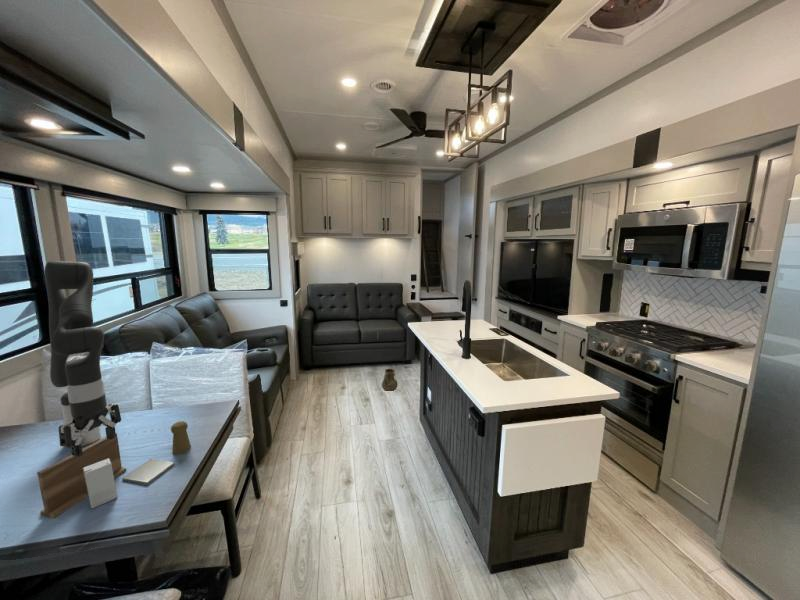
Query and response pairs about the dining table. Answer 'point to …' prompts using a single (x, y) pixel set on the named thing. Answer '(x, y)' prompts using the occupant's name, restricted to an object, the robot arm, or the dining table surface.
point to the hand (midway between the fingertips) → (95, 447)
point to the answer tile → (148, 471)
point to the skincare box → (100, 482)
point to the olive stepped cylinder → (180, 438)
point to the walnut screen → (74, 476)
